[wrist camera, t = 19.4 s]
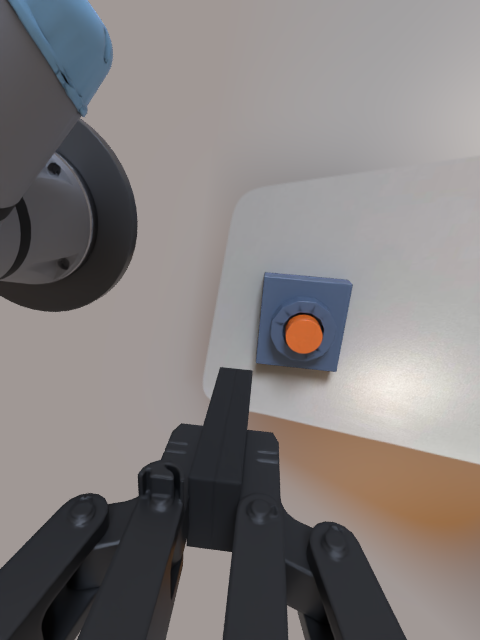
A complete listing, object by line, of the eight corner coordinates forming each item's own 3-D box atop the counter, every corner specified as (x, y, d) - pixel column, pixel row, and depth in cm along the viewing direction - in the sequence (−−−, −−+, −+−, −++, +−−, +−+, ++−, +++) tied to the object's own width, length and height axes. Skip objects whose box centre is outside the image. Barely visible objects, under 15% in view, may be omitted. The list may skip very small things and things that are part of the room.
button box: (264, 272, 37) (263, 280, 34) (348, 279, 37) (356, 288, 33) (256, 355, 41) (254, 370, 37) (333, 363, 40) (339, 380, 36)
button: (287, 312, 35) (287, 318, 33) (322, 316, 35) (325, 321, 33) (283, 344, 36) (283, 351, 34) (317, 348, 36) (319, 355, 34)
